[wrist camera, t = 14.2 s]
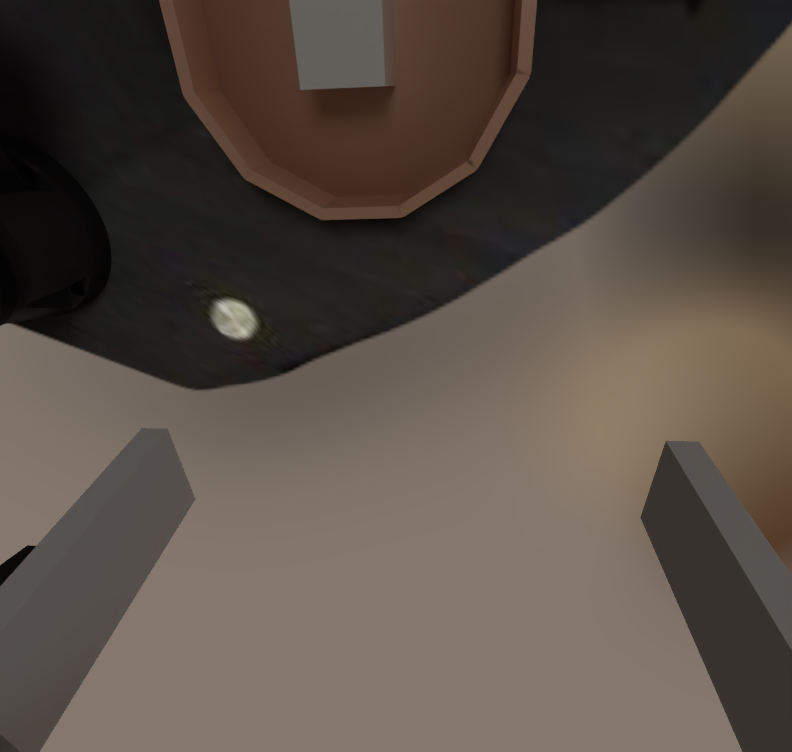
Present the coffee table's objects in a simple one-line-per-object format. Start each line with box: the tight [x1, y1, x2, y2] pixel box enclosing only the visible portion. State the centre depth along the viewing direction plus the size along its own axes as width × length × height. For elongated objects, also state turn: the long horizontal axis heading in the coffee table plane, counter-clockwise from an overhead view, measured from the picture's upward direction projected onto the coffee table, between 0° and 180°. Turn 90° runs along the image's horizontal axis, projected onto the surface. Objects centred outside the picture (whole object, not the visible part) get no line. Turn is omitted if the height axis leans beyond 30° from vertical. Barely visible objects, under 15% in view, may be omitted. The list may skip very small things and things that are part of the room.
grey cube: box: [289, 0, 396, 90], centre depth 28 cm, size 5×6×6 cm
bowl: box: [159, 0, 537, 220], centre depth 29 cm, size 22×22×5 cm
